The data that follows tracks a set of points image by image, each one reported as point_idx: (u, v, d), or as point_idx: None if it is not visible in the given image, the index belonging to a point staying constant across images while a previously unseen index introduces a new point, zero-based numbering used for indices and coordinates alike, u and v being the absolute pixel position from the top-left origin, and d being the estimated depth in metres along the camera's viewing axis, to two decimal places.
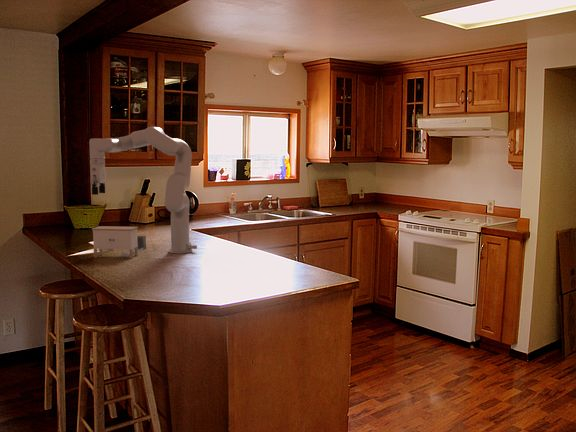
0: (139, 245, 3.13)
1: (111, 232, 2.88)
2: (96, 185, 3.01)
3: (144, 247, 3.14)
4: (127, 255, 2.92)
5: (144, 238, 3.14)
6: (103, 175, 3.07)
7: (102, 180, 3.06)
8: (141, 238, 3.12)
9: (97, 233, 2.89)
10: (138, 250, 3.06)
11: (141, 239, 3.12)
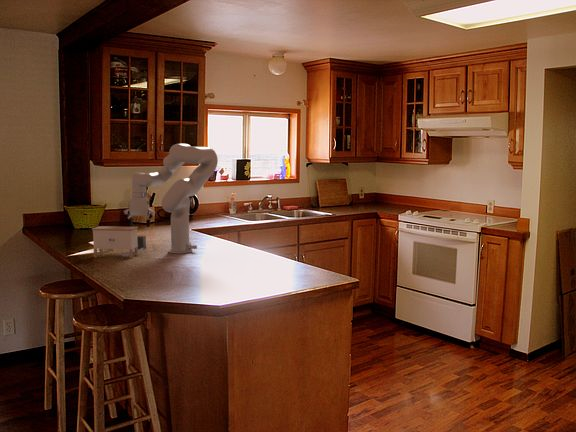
0: (139, 245, 3.13)
1: (111, 232, 2.88)
2: None
3: (144, 247, 3.14)
4: (127, 255, 2.92)
5: (144, 238, 3.14)
6: None
7: None
8: (141, 238, 3.12)
9: (97, 233, 2.89)
10: (138, 250, 3.06)
11: (141, 239, 3.12)
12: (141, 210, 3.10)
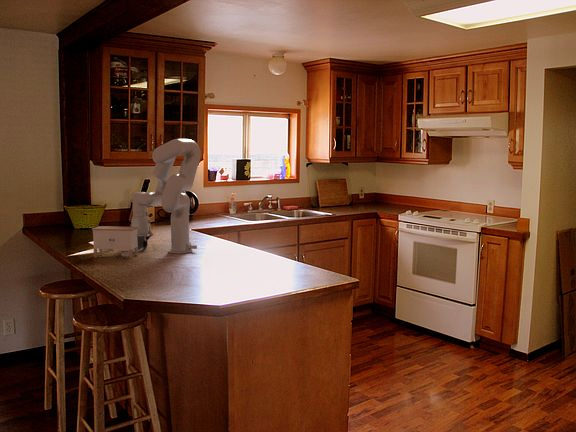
0: (139, 245, 3.13)
1: (111, 232, 2.88)
2: None
3: None
4: (127, 255, 2.92)
5: None
6: None
7: None
8: (141, 238, 3.12)
9: (97, 233, 2.89)
10: (138, 250, 3.06)
11: (141, 239, 3.12)
12: (142, 229, 3.11)
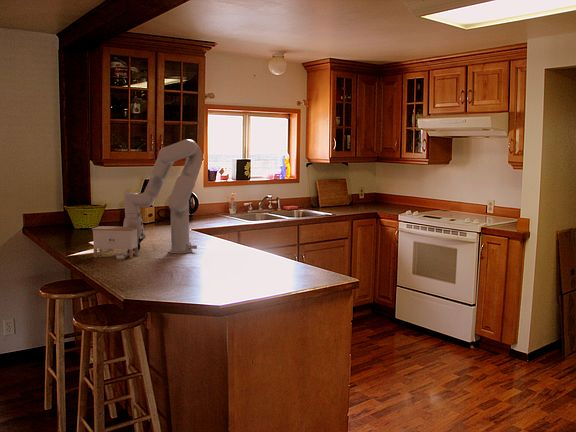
0: None
1: (111, 232, 2.88)
2: None
3: None
4: (122, 257, 2.85)
5: None
6: None
7: None
8: None
9: (97, 233, 2.89)
10: None
11: None
12: None
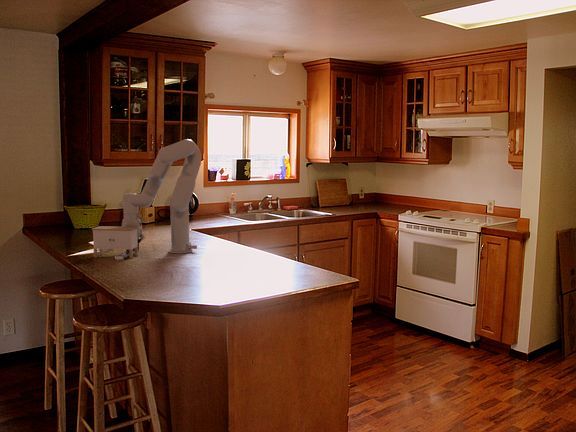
0: None
1: (111, 232, 2.88)
2: (139, 242, 3.02)
3: None
4: (120, 258, 2.84)
5: None
6: None
7: None
8: None
9: (97, 233, 2.89)
10: (129, 254, 2.93)
11: None
12: None
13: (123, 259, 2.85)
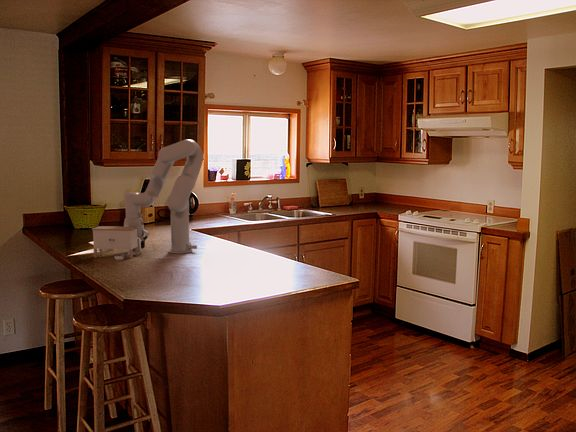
0: None
1: (111, 232, 2.88)
2: None
3: (138, 250, 3.05)
4: (120, 258, 2.84)
5: (138, 241, 3.04)
6: None
7: None
8: None
9: (97, 233, 2.89)
10: None
11: None
12: None
13: (123, 259, 2.85)
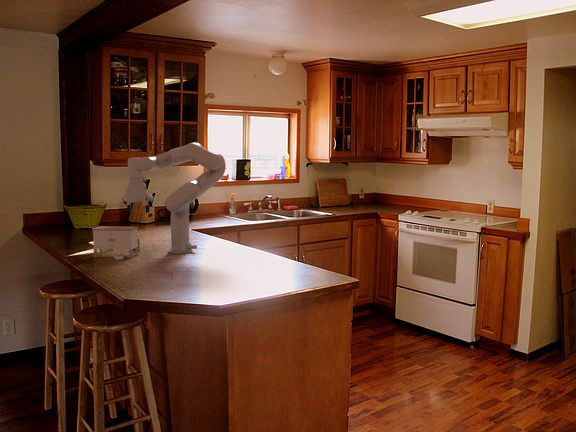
0: None
1: (111, 232, 2.88)
2: None
3: (138, 250, 3.05)
4: (120, 258, 2.84)
5: (138, 241, 3.04)
6: None
7: None
8: None
9: (97, 233, 2.89)
10: None
11: None
12: (139, 196, 3.02)
13: (123, 259, 2.85)
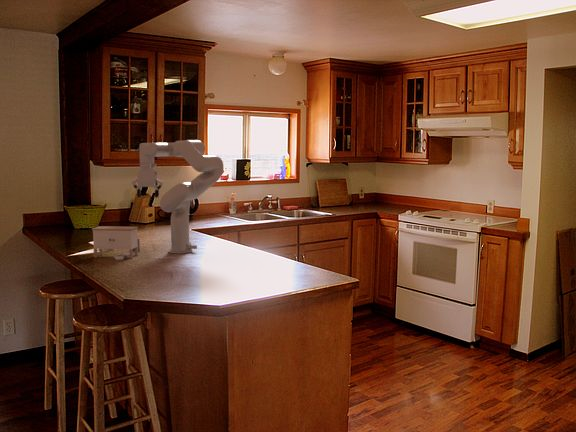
0: None
1: (111, 232, 2.88)
2: None
3: (138, 250, 3.05)
4: (120, 258, 2.84)
5: (138, 241, 3.04)
6: None
7: None
8: None
9: (97, 233, 2.89)
10: None
11: None
12: (149, 180, 3.09)
13: (123, 259, 2.85)
